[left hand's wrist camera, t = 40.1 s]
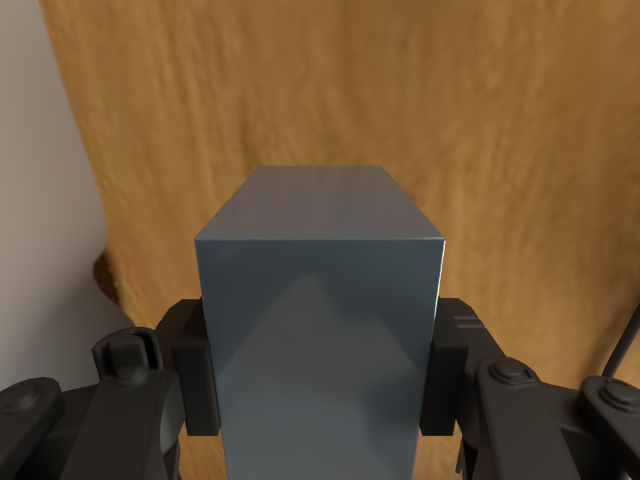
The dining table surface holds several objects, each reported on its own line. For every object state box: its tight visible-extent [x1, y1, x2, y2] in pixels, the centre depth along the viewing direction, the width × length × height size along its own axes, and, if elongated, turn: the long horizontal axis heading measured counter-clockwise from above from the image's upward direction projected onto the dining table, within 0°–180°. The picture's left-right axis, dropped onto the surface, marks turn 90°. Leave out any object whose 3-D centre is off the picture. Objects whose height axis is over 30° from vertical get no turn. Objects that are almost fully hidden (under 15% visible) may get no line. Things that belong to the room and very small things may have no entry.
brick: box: [194, 166, 446, 480], centre depth 12 cm, size 8×5×8 cm, turn 0°
